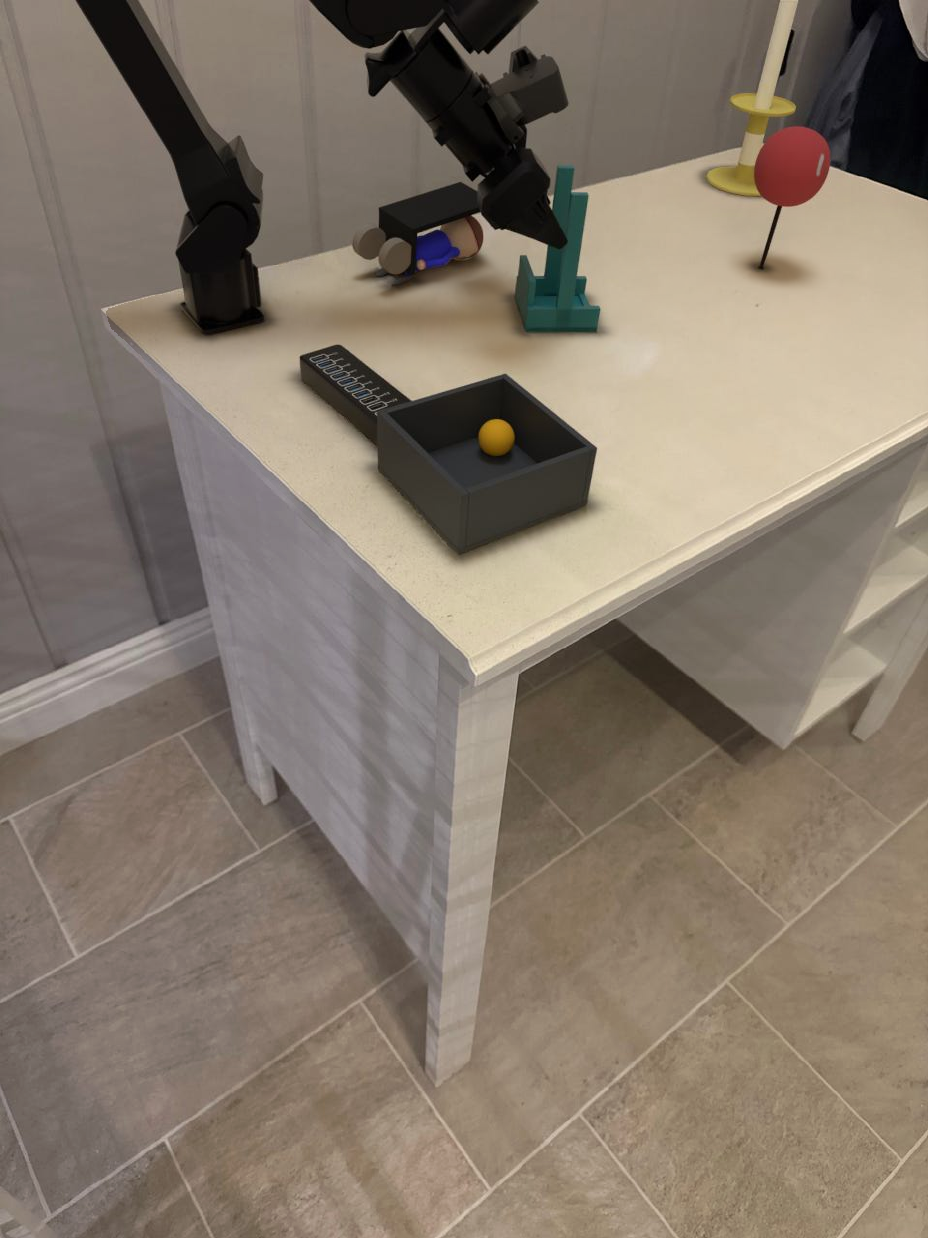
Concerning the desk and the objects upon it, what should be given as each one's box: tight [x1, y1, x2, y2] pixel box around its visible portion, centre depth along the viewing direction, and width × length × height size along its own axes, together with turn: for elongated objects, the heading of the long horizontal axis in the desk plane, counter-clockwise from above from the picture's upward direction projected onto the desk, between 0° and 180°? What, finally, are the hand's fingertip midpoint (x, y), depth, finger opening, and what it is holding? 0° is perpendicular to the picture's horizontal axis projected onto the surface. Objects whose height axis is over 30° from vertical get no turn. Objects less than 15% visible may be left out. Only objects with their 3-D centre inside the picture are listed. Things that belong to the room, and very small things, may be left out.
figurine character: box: [351, 181, 484, 286], centre depth 99 cm, size 7×8×15 cm
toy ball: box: [478, 419, 515, 456], centre depth 76 cm, size 3×3×3 cm
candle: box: [705, 0, 799, 197], centre depth 117 cm, size 10×10×27 cm
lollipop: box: [754, 125, 831, 270], centre depth 101 cm, size 8×8×15 cm
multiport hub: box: [299, 344, 412, 447], centre depth 80 cm, size 4×14×2 cm, turn 38°
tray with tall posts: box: [514, 164, 601, 333], centre depth 91 cm, size 7×7×14 cm
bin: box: [377, 373, 598, 555], centre depth 72 cm, size 12×12×6 cm
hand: (555, 225), depth 89 cm, fingers open, 9 cm apart
